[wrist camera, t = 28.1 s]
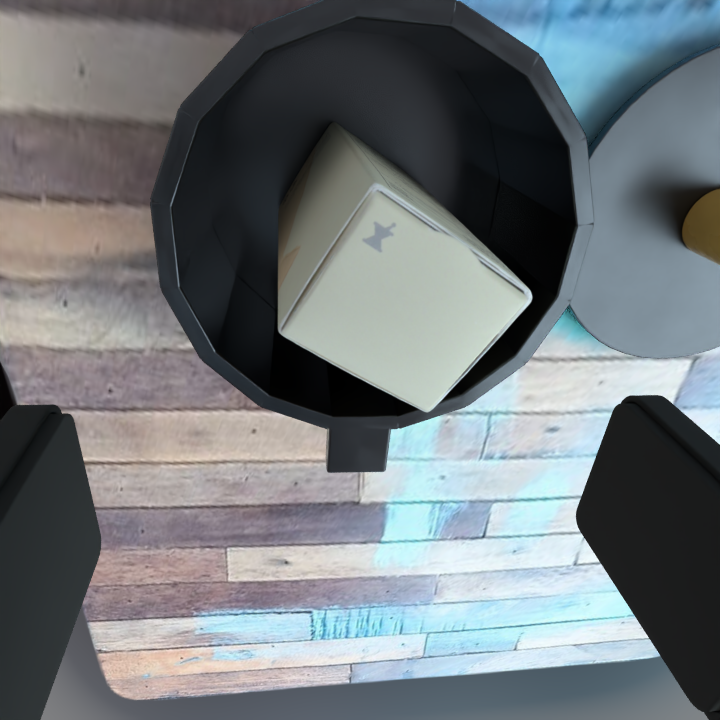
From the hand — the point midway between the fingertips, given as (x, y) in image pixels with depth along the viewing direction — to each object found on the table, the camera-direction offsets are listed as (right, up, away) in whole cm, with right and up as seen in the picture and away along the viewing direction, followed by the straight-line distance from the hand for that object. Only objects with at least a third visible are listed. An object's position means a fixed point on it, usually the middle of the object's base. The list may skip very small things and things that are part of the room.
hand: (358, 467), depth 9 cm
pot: (0, +9, +13) cm, 16 cm away
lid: (+16, +8, +15) cm, 23 cm away
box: (0, +9, +13) cm, 16 cm away
